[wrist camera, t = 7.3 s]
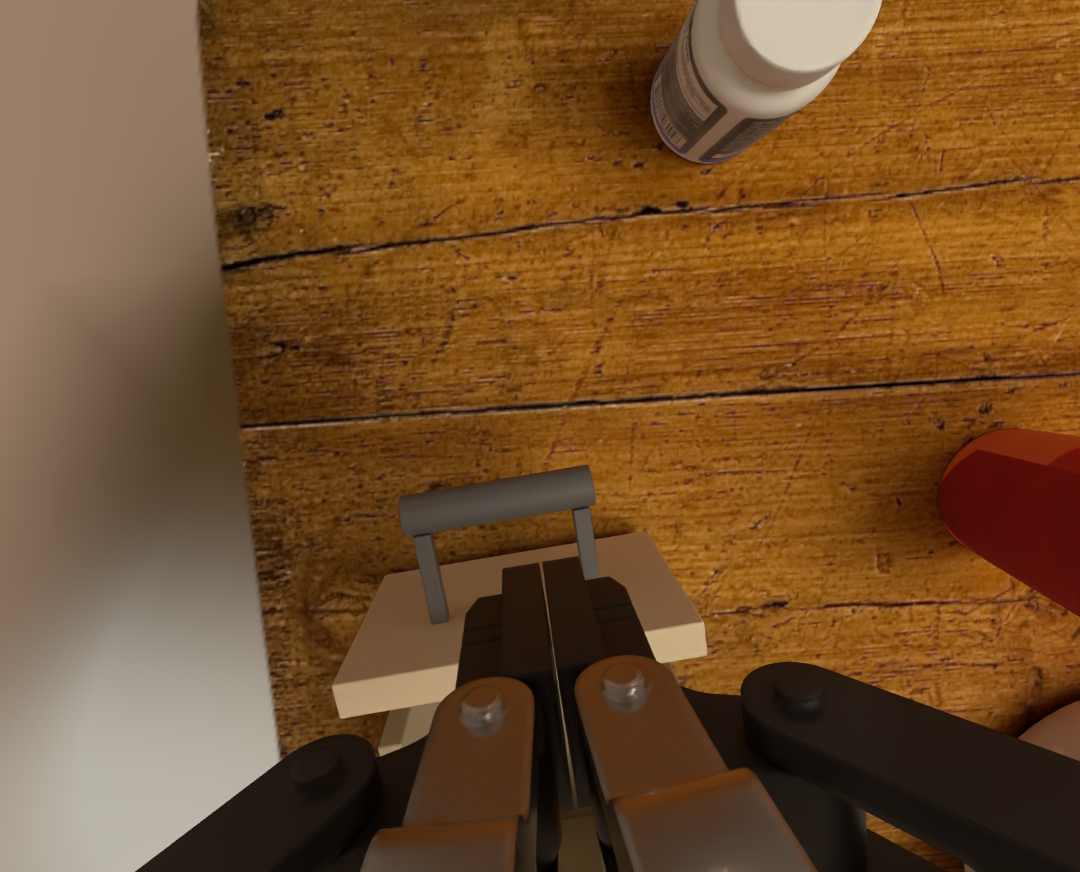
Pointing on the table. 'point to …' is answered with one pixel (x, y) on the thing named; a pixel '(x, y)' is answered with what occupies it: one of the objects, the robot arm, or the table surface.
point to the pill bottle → (750, 69)
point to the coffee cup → (1020, 507)
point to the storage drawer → (450, 590)
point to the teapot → (1056, 735)
